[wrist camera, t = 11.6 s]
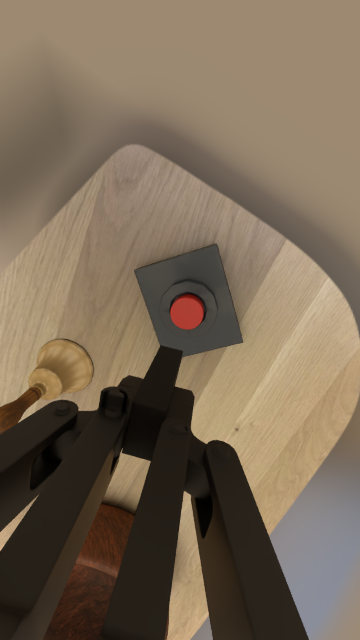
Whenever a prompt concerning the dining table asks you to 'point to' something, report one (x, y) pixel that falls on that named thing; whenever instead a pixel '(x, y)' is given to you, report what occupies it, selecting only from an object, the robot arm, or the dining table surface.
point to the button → (187, 311)
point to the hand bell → (51, 378)
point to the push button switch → (195, 279)
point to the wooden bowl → (93, 578)
